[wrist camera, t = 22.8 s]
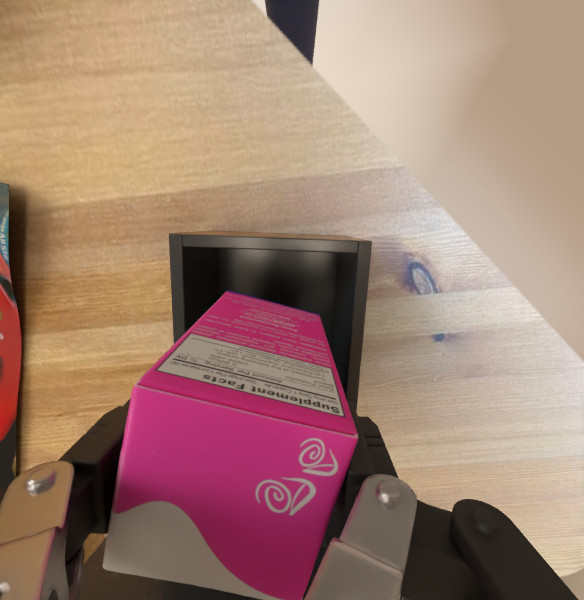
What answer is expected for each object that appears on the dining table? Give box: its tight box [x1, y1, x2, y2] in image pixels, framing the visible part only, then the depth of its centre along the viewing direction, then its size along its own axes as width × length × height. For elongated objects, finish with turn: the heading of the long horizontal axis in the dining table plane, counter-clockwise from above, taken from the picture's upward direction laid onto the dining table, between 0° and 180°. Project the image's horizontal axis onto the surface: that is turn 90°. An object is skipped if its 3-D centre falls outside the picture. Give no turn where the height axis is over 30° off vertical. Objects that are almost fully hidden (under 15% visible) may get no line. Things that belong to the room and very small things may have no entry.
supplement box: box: [102, 291, 358, 600], centre depth 14 cm, size 6×6×12 cm
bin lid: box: [79, 504, 410, 600], centre depth 15 cm, size 16×13×5 cm
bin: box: [169, 231, 372, 410], centre depth 27 cm, size 16×13×11 cm
